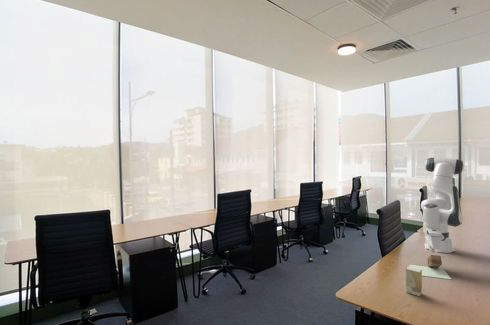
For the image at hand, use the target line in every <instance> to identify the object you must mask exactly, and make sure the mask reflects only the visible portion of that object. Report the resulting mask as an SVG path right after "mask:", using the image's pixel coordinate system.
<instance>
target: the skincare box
mask: <svg viewBox="0 0 490 325" xmlns="http://www.w3.org/2000/svg"><path fill="white" fill-rule="evenodd" d="M422 278H423V276H422V270H421V269H417V268H412V267H410V266H407V267H406V268H405V292H406V293H407V294H411V295H414V296H418V297H420V296H421V295H422V294H423V285H422V284H423V279H422Z"/></svg>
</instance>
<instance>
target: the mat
mask: <svg viewBox="0 0 490 325" xmlns="http://www.w3.org/2000/svg"><path fill="white" fill-rule="evenodd" d="M408 267H412V268H417V269H421V270H422V277H428V278H434V279H435V278H436V279H442V280H443V279H444V280H452V278H451V276H450V275H449V274H448V273H447V272H446V270H445V269H444V268H442V267H439V268H434V267H428V266H425V265H424V266H423V265H416V264H408Z"/></svg>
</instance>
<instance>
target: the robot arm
mask: <svg viewBox="0 0 490 325" xmlns="http://www.w3.org/2000/svg"><path fill="white" fill-rule="evenodd" d="M464 164H465V163H464V162H463V160H461V159H457V158H456V159H454V158H451V157H450V158H448V157H429V158H427V159H426V161H425V162H424V168H425V170H426V171H428V172H429V173H432V176H431V191H432V192H433V193H434V195H435V198H434V197H433V198H426V199H424V200H422V201H421V202H420V208H421V210H422V220H423V224H422V226H423V227H422V228H423V230H422V231H423V233H424V241H425V242H424V246H425V248H424V250H428V249H429V251H430V252H431V253H432V254H435V253H445V254H446V253H447V254H448V253H453V252H456V250H455V248H453V242H452V239H451V238H450V232H449V226H450V227H454V228H456V227H459V226H460V225H462V224H463V214H462V209H461V208H462V207H461V201H460V200H461V199H460V194H459V192H460V191H459V189H458V187H457V186H456V185H454V183H453V181H454V180H453V178H454V176H456V175H459V174H461V173H462V172H463V171H464V169H465V165H464Z"/></svg>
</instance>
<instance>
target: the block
mask: <svg viewBox="0 0 490 325" xmlns="http://www.w3.org/2000/svg"><path fill="white" fill-rule="evenodd" d="M426 261H427V267H434V268H441V266H442V265H443V263H442V262H443V261H442V257H441V255H437V254H435V255H434V254H429V256H428V257H427V258H426Z"/></svg>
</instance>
